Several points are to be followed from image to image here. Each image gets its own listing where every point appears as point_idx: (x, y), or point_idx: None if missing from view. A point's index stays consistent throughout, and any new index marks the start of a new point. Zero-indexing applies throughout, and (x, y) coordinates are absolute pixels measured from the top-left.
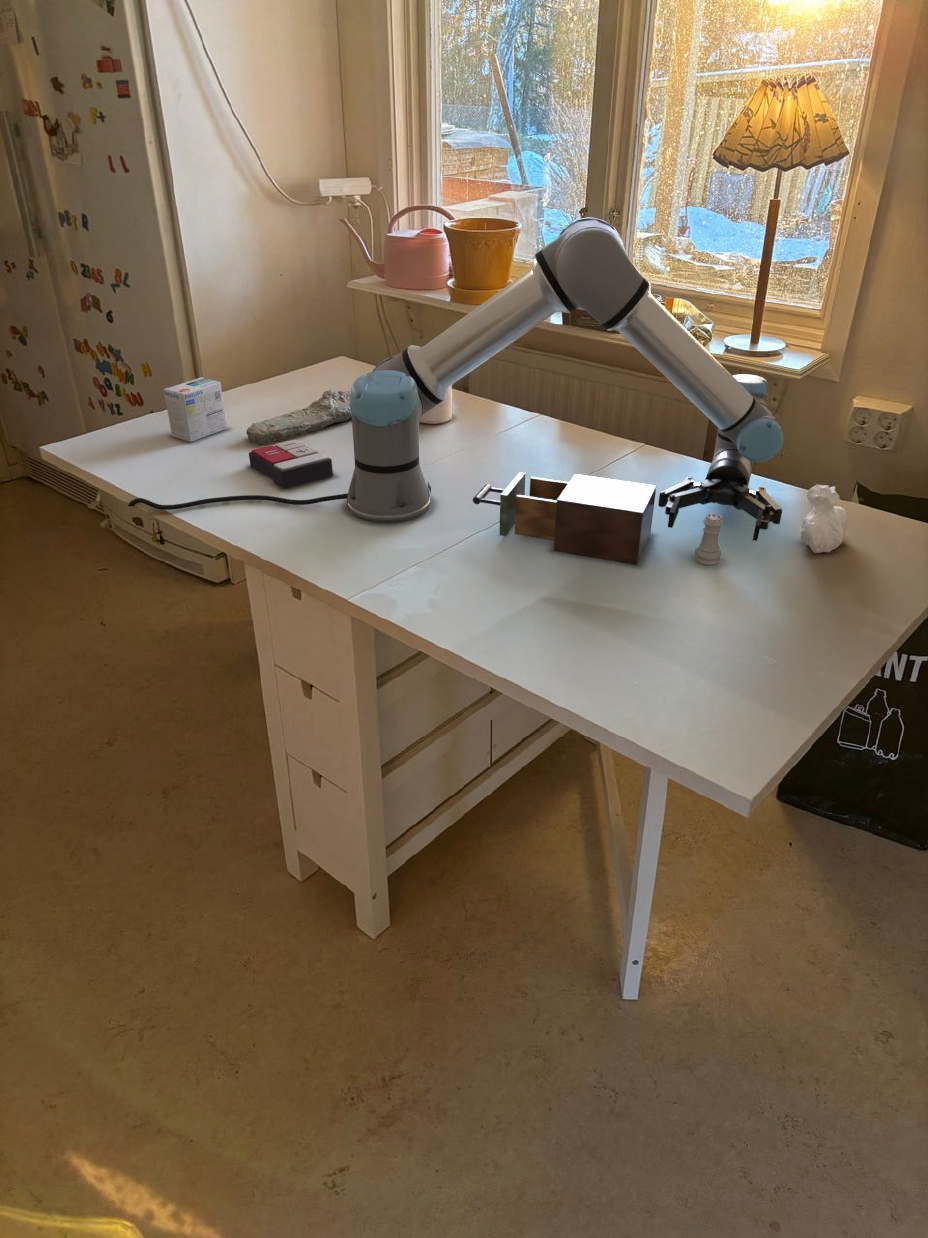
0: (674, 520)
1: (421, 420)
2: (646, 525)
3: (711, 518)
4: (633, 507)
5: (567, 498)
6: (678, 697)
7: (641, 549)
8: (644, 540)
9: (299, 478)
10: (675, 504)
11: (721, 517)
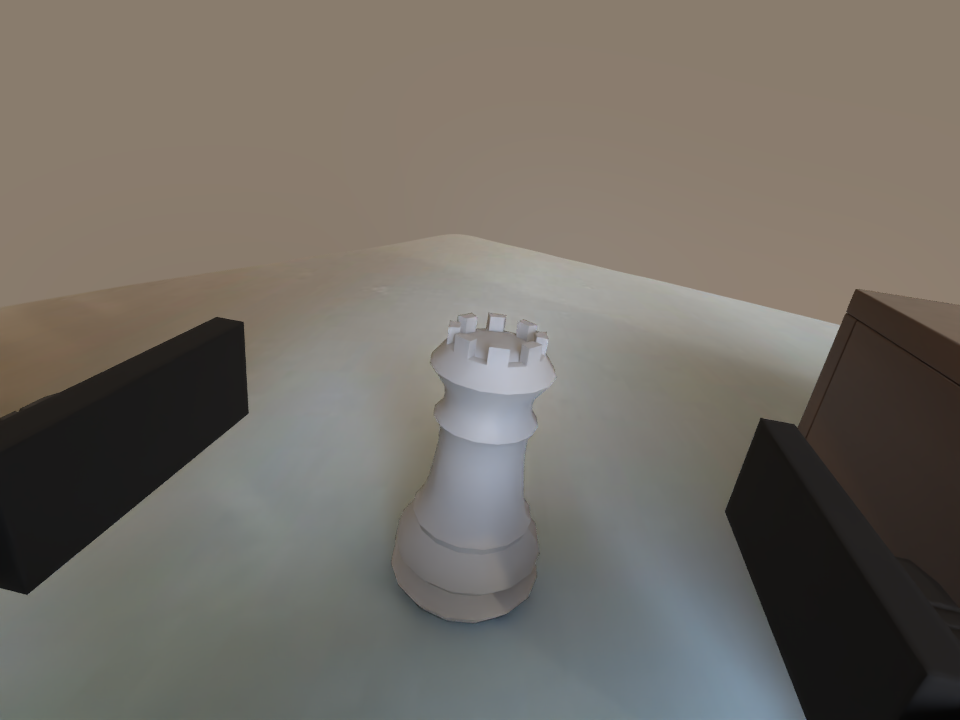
0: (754, 555)
1: None
2: (879, 514)
3: (511, 339)
4: (944, 310)
5: None
6: (527, 274)
7: None
8: None
9: None
10: (841, 514)
11: (453, 321)
